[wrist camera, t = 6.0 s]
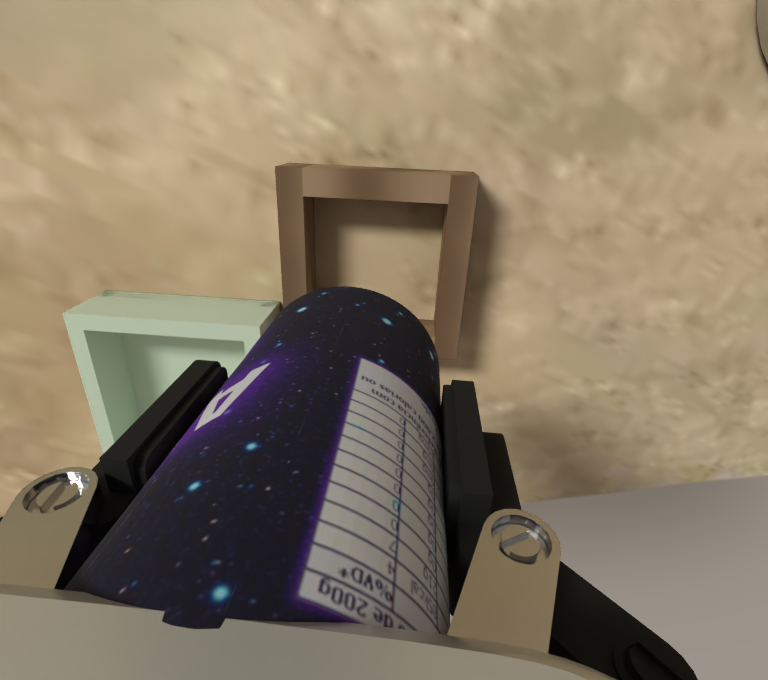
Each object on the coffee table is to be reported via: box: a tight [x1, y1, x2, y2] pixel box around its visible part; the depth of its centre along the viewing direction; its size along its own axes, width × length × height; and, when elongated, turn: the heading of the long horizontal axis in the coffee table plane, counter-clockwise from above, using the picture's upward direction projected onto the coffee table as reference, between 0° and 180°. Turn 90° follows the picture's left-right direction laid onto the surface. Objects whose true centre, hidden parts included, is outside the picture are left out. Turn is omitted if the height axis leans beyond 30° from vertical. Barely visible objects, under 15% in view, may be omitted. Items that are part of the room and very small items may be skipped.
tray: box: [62, 290, 280, 454], centre depth 30 cm, size 12×12×4 cm
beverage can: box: [63, 287, 450, 635], centre depth 10 cm, size 6×6×12 cm
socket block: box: [275, 163, 479, 360], centre depth 26 cm, size 10×10×2 cm
